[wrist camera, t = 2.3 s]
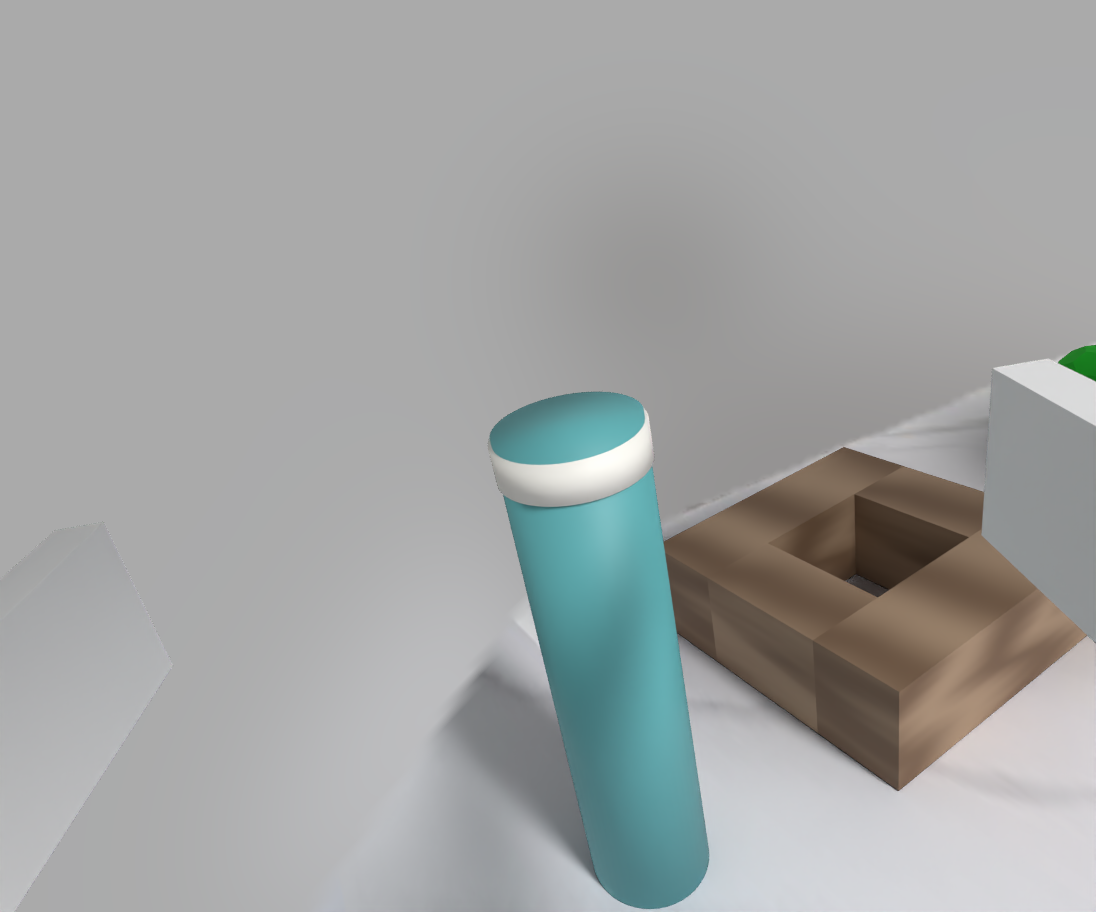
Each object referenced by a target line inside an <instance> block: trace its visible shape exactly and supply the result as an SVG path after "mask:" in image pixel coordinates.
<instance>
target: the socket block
mask: <svg viewBox="0 0 1096 912" xmlns="http://www.w3.org/2000/svg"><path fill="white" fill-rule="evenodd" d="M983 504H984V492H982V491H979V490H976V489H973V488H970V487H967V486H963V485H960V484H957V483H954V482H951V481H948V480H945V479H942V478H938V477H935V476H932V475H929V474H926V473H923V472H920V471H917V470H914V469H910V468H907V467H904V466H901V465H898V464H895V463H892V462H889V461H885V460H882V459H879V458H876V457H873V456H870V455H867V454H864V453H861V452H857V451H854V450H851V449H848V448H845V447H843V448H841V449H839V450H837V451H835V452H833V453H832V454H830V455H828V456H826V457H824V458H822V459H820V460H818V461H816V462H814V463H813V464H811V465H809V466H807V467H805V468H803V469H801V470H799V471H797V472H795V473H794V474H792V475H790V476H788V477H786V478H784V479H782V480H780V481H778V482H776V483H774V484H773V485H771V486H769V487H767V488H765V489H763V490H761V491H759V492H757V493H755V494H754V495H752V496H750V497H748V498H746V499H744V500H742V501H740V502H738V503H736V504H735V505H733V506H731V507H729V508H727V509H725V510H723V511H721V512H719V513H717V514H715V515H714V516H712V517H710V518H708V519H706V520H704V521H702V522H700V523H698V524H696V525H695V526H693V527H691V528H689V529H687V530H685V531H683V532H681V533H679V534H677V535H676V536H674V537H672V538H670V539H668V540H666V541H664V542H663V543H664V550H665V556H666V563H667V570H668V577H669V584H670V590H671V597H672V604H673V611H674V617H675V624H676V631H677V633H678V634H680V635H681V636H683V637H684V638H685V639H687V640H688V641H690V642H691V643H692V644H694V645H695V646H697V647H698V648H699V649H701V650H702V651H704V652H705V653H706V654H708V655H709V656H711V657H712V658H713V659H715V660H716V661H718V662H719V663H720V664H722V665H723V666H725V667H726V668H727V669H729V670H730V671H732V672H733V673H734V674H736V675H737V676H739V677H740V678H741V679H743V680H744V681H746V682H747V683H748V684H750V685H751V686H753V687H754V688H755V689H757V690H758V691H760V692H761V693H762V694H764V695H765V696H766V697H768V698H769V699H771V700H772V701H773V702H775V703H776V704H778V705H779V706H780V707H782V708H783V709H785V710H786V711H787V712H789V713H790V714H792V715H793V716H794V717H796V718H797V719H799V720H800V721H801V722H803V723H804V724H806V725H807V726H808V727H810V728H811V729H813V730H814V731H815V732H817V733H818V734H820V735H821V736H822V737H824V738H825V739H827V740H828V741H829V742H831V743H832V744H834V745H835V746H836V747H838V748H839V749H841V750H842V751H843V752H845V753H846V754H848V755H849V756H850V757H852V758H853V759H855V760H856V761H857V762H859V763H860V764H862V765H863V766H864V767H866V768H867V769H869V770H870V771H871V772H873V773H874V774H876V775H877V776H878V777H880V778H881V779H883V780H884V781H885V782H887V783H888V784H890V785H891V786H892V787H894V788H895V789H897V790H898V791H899V790H900V789H902V788H903V787H904V786H905V785H906V784H908V783H909V782H910V781H911V780H913V779H914V778H915V777H916V776H917V775H919V774H920V773H921V772H922V771H923V770H925V769H926V768H927V767H928V766H930V765H931V764H932V763H933V762H934V761H936V760H937V759H938V758H939V757H940V756H942V755H943V754H944V753H945V752H946V751H948V750H949V749H950V748H951V747H953V746H954V745H955V744H956V743H957V742H959V741H960V740H961V739H962V738H963V737H965V736H966V735H967V734H968V733H969V732H971V731H972V730H973V729H974V728H976V727H977V726H978V725H979V724H980V723H982V722H983V721H984V720H985V719H986V718H988V717H989V716H990V715H991V714H993V713H994V712H995V711H996V710H997V709H999V708H1000V707H1001V706H1002V705H1003V704H1005V703H1006V702H1007V701H1008V700H1009V699H1011V698H1012V697H1013V696H1014V695H1016V694H1017V693H1018V692H1019V691H1020V690H1022V689H1023V688H1024V687H1025V686H1026V685H1028V684H1029V683H1030V682H1031V681H1032V680H1034V679H1035V678H1036V677H1037V676H1039V675H1040V674H1041V673H1042V672H1043V671H1045V670H1046V669H1047V668H1048V667H1049V666H1051V665H1052V664H1053V663H1054V662H1056V661H1057V660H1058V659H1059V658H1060V657H1062V656H1063V655H1064V654H1065V653H1066V652H1068V651H1069V650H1070V649H1071V648H1072V647H1074V646H1075V645H1076V644H1077V643H1079V642H1080V641H1081V640H1082V639H1083V638H1085V637H1086V636H1087V635H1086V634H1085V633H1084V632H1083V631H1082V630H1081V629H1080V628H1079V627H1078V626H1077V625H1076V624H1075V623H1074V622H1073V621H1072V620H1071V619H1070V618H1068V617H1067V616H1066V615H1065V614H1064V613H1063V612H1062V611H1061V610H1060V609H1059V608H1058V607H1057V606H1056V605H1055V604H1054V603H1053V602H1052V601H1050V600H1049V599H1048V598H1047V597H1046V596H1045V595H1044V594H1043V593H1042V592H1041V591H1040V590H1039V589H1038V588H1037V587H1036V586H1035V585H1034V584H1032V583H1031V582H1030V581H1029V580H1028V579H1027V578H1026V577H1025V576H1024V575H1023V574H1022V573H1021V572H1020V571H1019V570H1018V569H1017V568H1016V567H1014V566H1013V565H1012V564H1011V563H1010V562H1009V561H1008V560H1007V559H1006V558H1005V557H1004V556H1003V555H1002V554H1001V553H1000V552H999V551H998V550H997V549H995V548H994V547H993V546H992V545H991V544H990V543H989V542H988V541H987V540H986V539H985V538H984V537H983V536H982V535H981V534H982V519H983ZM855 574H858V575H860V576H862V577H864V578H866V579H868V580H870V581H872V582H874V583H877V584H879V585H881V586H883V587H885V588H887V589H889V590H888V591H887V592H885V593H884V594H882V595H881V596H879V597H876V596H874V595H872V594H870V593H868V592H866V591H864V590H862V589H860V588H858V587H856V586H854V585H852V584H850V583H848V582H845V581H846V580H847V579H849V578H850V577H852V576H853V575H855Z"/></svg>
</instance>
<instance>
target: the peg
mask: <svg viewBox="0 0 1096 912" xmlns="http://www.w3.org/2000/svg"><path fill="white" fill-rule="evenodd" d="M488 450H489V454H490V458H491V462H492V466H493V470H494V474H495V478H496V482H497V486H498V489H499V490H500V491H501V493H502V494H503V496H504V500H505V504H506V508H507V513H508V517H509V521H510V525H511V529H512V533H513V537H514V541H515V546H516V550H517V554H518V558H519V562H520V565H521V570H522V574H523V578H524V582H525V587H526V591H527V595H528V599H529V603H530V607H531V611H532V615H533V619H534V623H535V628H536V632H537V636H538V640H539V644H540V648H541V652H542V656H543V660H544V665H545V669H546V673H547V677H548V681H549V685H550V689H551V693H552V697H553V701H554V706H555V710H556V714H557V718H558V722H559V726H560V730H561V734H562V738H563V742H564V747H565V751H566V755H567V759H568V763H569V767H570V771H571V775H572V779H573V783H574V788H575V792H576V796H577V800H578V804H579V808H580V812H581V816H582V820H583V825H584V829H585V833H586V837H587V841H588V845H589V849H590V853H591V857H592V861H593V866H594V869H595V873H596V875H597V878H598V880H599V882H600V883H601V885H602V886H603V887H604V889H605V890H606V891H607V892H608V893H609V894H610V895H612V896H613V897H614V898H616V899H617V900H619V901H620V902H622V903H625V904H627V905H630V906H633V907H637V908H642V909H656V908H663V907H667V906H670V905H673V904H676V903H678V902H680V901H682V900H683V899H685V898H686V897H688V896H689V895H690V894H691V893H692V892H693V891H694V890H695V889H696V888H697V887H698V886H699V884H700V883H701V881H702V880H703V878H704V876H705V873H706V871H707V867H708V862H709V848H708V841H707V834H706V828H705V821H704V814H703V807H702V801H701V794H700V787H699V780H698V773H697V767H696V760H695V753H694V746H693V739H692V733H691V726H690V719H689V712H688V706H687V699H686V692H685V685H684V678H683V672H682V665H681V658H680V651H679V645H678V638H677V631H676V624H675V617H674V611H673V604H672V597H671V590H670V584H669V577H668V570H667V563H666V556H665V550H664V543H663V536H662V529H661V522H660V516H659V510H658V502H657V495H656V489H655V482H654V475H653V468H652V465H653V462H654V451H653V444H652V437H651V430H650V423H649V417H648V413H647V412H646V410H645V409H644V408H643V406H642V405H641V404H640V403H639V401H637V400H635V399H634V398H632V397H629V396H626V395H623V394H618V393H611V392H581V393H573V394H566V395H561V396H556V397H552V398H548V399H544V400H541V401H538V402H535V403H532V404H529V405H527V406H525V407H522V408H520V409H518V410H516V411H514V412H512V413H510V414H509V415H507V416H506V417H504V418H503V419H501V420H500V421H499V422H498V423H497V424H496V425H495V426H494V428H493V429H492V431H491V433H490V438H489V441H488Z"/></svg>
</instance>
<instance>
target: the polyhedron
mask: <svg viewBox="0 0 1096 912" xmlns="http://www.w3.org/2000/svg"><path fill="white" fill-rule="evenodd" d="M1058 364H1060V365H1062V366H1064V367H1067V368H1069V369H1071V370H1073V371H1075V372H1077V373H1079V374H1081V375H1083V376H1085V377H1087V378H1089V379H1091V380H1094V381H1096V345H1091V346H1084V347H1081V348H1079V349H1076V350H1073V351H1071V352H1070V353H1069V354H1067V355H1066V356H1065V357H1064V358H1062V359H1061V360H1060V361H1059V362H1058Z"/></svg>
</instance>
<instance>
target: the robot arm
mask: <svg viewBox="0 0 1096 912" xmlns="http://www.w3.org/2000/svg"><path fill="white" fill-rule="evenodd" d="M981 535H982V536H983V537H984V538H985V539H986V540H987V541H988V542H989V543H990V544H991V545H992V546H993V547H994V548H995V549H997V550H998V551H999V552H1000V553H1001V554H1002V555H1003V556H1004V557H1005V558H1006V559H1007V560H1008V561H1009V562H1010V563H1011V564H1012V565H1013V566H1014V567H1016V568H1017V569H1018V570H1019V571H1020V572H1021V573H1022V574H1023V575H1024V576H1025V577H1026V578H1027V579H1028V580H1029V581H1030V582H1031V583H1032V584H1034V585H1035V586H1036V587H1037V588H1038V589H1039V590H1040V591H1041V592H1042V593H1043V594H1044V595H1045V596H1046V597H1047V598H1048V599H1049V600H1050V601H1052V602H1053V603H1054V604H1055V605H1056V606H1057V607H1058V608H1059V609H1060V610H1061V611H1062V612H1063V613H1064V614H1065V615H1066V616H1067V617H1068V618H1070V619H1071V620H1072V621H1073V622H1074V623H1075V624H1076V625H1077V626H1078V627H1079V628H1080V629H1081V630H1082V631H1083V632H1084V633H1085V634H1086V635H1087V636H1089V637H1090V638H1091V639H1092V640H1093V641H1094V642H1095V643H1096V381H1094V380H1091V379H1089V378H1087V377H1085V376H1083V375H1081V374H1079V373H1077V372H1075V371H1073V370H1071V369H1069V368H1067V367H1064V366H1062V365H1060V364H1058V363H1056V362H1054V361H1052V360H1050V359H1043V360H1037V361H1031V362H1025V363H1019V364H1013V365H1008V366H1002V367H996V368H993V369H992V382H991V397H990V412H989V427H988V443H987V458H986V473H985V489H984V504H983V519H982V534H981ZM172 667H173V664H172V662H171V660H170V658H169V656H168V654H167V652H166V650H165V648H164V646H163V644H162V642H161V640H160V638H159V635H158V633H157V631H156V629H155V627H154V625H153V623H152V621H151V619H150V617H149V615H148V613H147V611H146V608H145V606H144V604H143V602H142V600H141V598H140V596H139V594H138V592H137V590H136V588H135V586H134V584H133V582H132V579H131V577H130V575H129V573H128V571H127V569H126V567H125V565H124V563H123V561H122V559H121V557H120V555H119V553H118V551H117V548H116V546H115V544H114V542H113V540H112V538H111V536H110V534H109V532H108V530H107V528H106V526H105V524H104V522H100V523H94V524H89V525H83V526H78V527H71V528H65V529H60V530H55V531H54V532H53V533H52V534H51V535H49V536H48V537H47V538H46V539H45V540H44V541H43V542H41V543H40V544H39V545H38V546H37V547H36V548H35V549H34V550H32V551H31V552H30V553H29V554H28V555H27V556H26V557H24V558H23V559H22V560H21V561H20V562H19V563H18V564H17V565H15V566H14V567H13V568H12V569H11V570H10V571H9V572H8V573H6V574H5V575H4V576H3V577H2V578H1V579H0V912H15V911H16V909H17V907H18V906H19V904H20V903H21V901H22V900H23V898H24V897H25V895H26V893H27V892H28V890H29V888H30V887H31V886H32V884H33V883H34V881H35V879H36V878H37V876H38V875H39V873H40V872H41V870H42V868H43V867H44V866H45V864H46V862H47V861H48V859H49V858H50V856H51V855H52V853H53V851H54V850H55V848H56V847H57V845H58V844H59V842H60V841H61V839H62V837H63V836H64V834H65V833H66V831H67V830H68V828H69V826H70V825H71V823H72V822H73V820H74V819H75V817H76V816H77V814H78V813H79V811H80V810H81V808H82V806H83V805H84V803H85V802H86V800H87V799H88V797H89V796H90V794H91V793H92V791H93V789H94V788H95V786H96V785H97V783H98V782H99V780H100V779H101V777H102V775H103V774H104V772H105V771H106V769H107V767H108V766H109V764H110V763H111V761H112V760H113V758H114V756H115V755H116V754H117V752H118V751H119V749H120V747H121V746H122V744H123V743H124V741H125V740H126V738H127V737H128V735H129V733H130V732H131V730H132V729H133V727H134V726H135V724H136V723H137V721H138V719H139V718H140V716H141V715H142V713H143V711H144V710H145V709H146V707H147V705H148V704H149V702H150V701H151V699H152V698H153V696H154V695H155V693H156V692H157V690H158V688H159V687H160V685H161V684H162V682H163V681H164V679H165V678H166V676H167V674H168V673H169V671H170V670H171V668H172Z"/></svg>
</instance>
